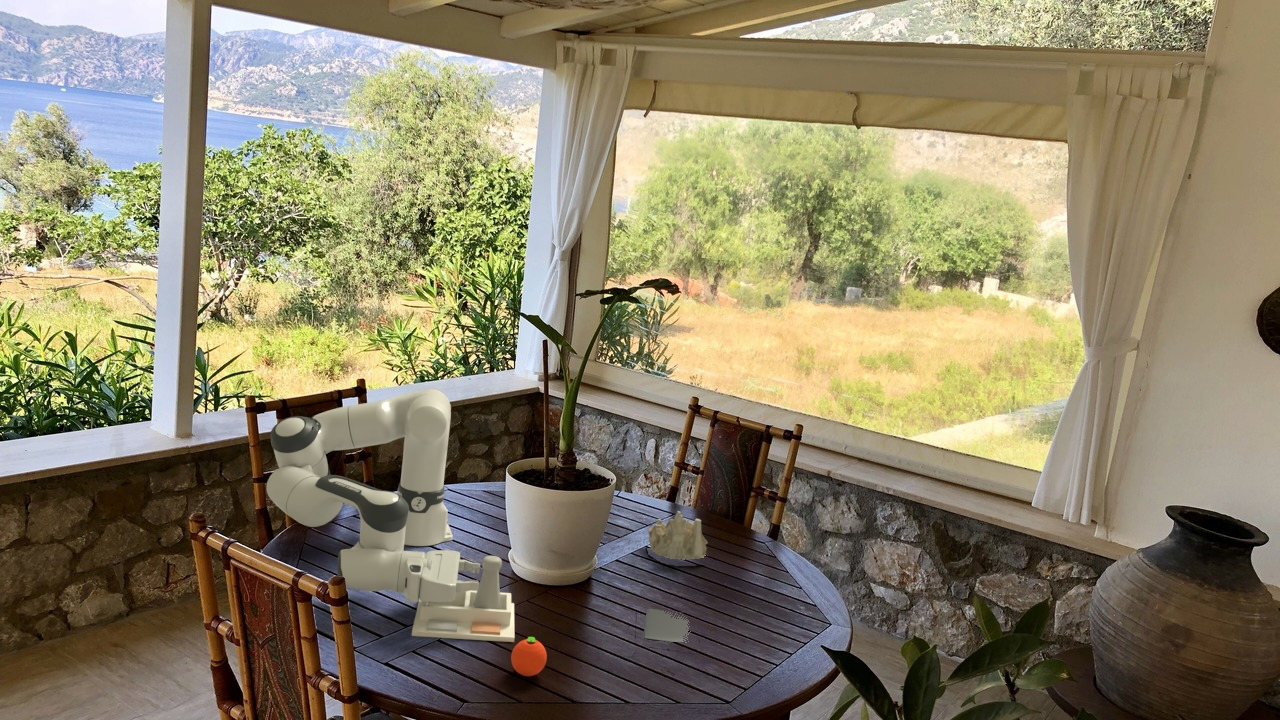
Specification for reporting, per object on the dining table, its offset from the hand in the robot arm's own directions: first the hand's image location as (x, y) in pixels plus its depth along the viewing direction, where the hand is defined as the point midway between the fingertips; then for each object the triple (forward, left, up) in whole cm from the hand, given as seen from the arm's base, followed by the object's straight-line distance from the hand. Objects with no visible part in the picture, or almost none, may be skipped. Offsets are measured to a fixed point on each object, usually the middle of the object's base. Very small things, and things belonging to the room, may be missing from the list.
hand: (479, 576), depth 198 cm
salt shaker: (0, +2, -9) cm, 9 cm away
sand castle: (-48, +54, -10) cm, 73 cm away
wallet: (0, +43, -10) cm, 44 cm away
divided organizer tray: (+2, -2, -10) cm, 10 cm away
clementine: (+23, +11, -10) cm, 27 cm away
